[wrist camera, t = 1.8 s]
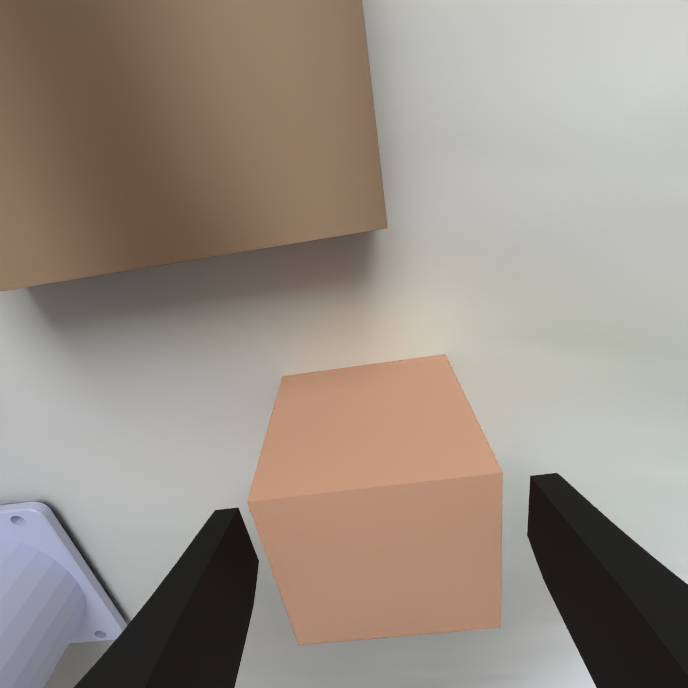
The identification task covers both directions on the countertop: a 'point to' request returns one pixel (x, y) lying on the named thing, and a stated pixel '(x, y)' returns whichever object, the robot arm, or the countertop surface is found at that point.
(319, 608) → the terracotta cube
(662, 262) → the countertop surface
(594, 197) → the countertop surface
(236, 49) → the walnut base
